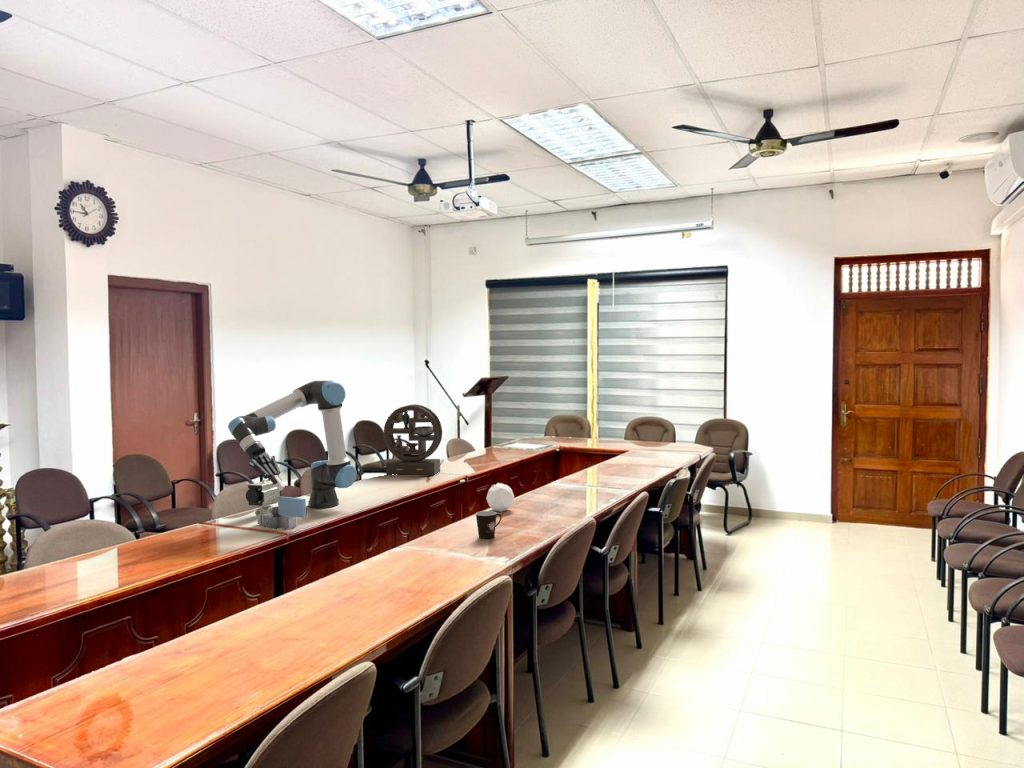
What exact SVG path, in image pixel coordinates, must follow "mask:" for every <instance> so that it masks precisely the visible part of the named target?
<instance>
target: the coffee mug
mask: <svg viewBox="0 0 1024 768" xmlns="http://www.w3.org/2000/svg"><path fill="white" fill-rule="evenodd" d="M497 516H499V521H498V522H497ZM475 519H476V525H477V533H478V539H480V540H491V539H494V538H495V534H496V528H497V526H499V524H500V523H501V521H502V515H501V514H500V513H497V512H496V511H495V510H481V511H477V512H476V513H475Z"/></svg>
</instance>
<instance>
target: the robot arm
mask: <svg viewBox="0 0 1024 768" xmlns="http://www.w3.org/2000/svg"><path fill="white" fill-rule="evenodd" d="M345 399H346V390H345V387H344V386H343V384H341V382H338V381H336V380H314V381H310V382H307V383H306V384H304V385H301V386H299V387H297V388H295V389H293V390H292V393H289V394H288V395H285V396H283V397H281V398H278V399H277V400H275V401H273V402H271V403H268V404H266V405H265V406H263V407H261V408H259V409H257V410H255V411H252V412H250V413H247V414H245V415H240V416H239V415H238V416H236V417H234V418H233V419H232V420H230V421H229V423H228V425H227V428H228V431H229V432H230V434H231V435H232V437H233V438H234V439H235V441H236V442H237V444H239V446H240V448H241V449H242V450H243V452H244V453H245V454H246V456H247V457H248V459H249V460H250V462H249V463H248V465H249V466H250V467H251V468H252V469H254V470H255V471H256V472H257V473H258V474H259V475H260V476H261V477H262V478H263V479H265V480H269V481H270V480H271V481H272V483H273V484H275V485H276V487H277V488H278V490H279V491H281V490H282V491H283V490H284V488H285V487H286V485H285V484H284V483H283V482H284V481H283V479H282V478H281V477H280V474H281V469H280V466H279V464H278V462H277V460H276V456H275V455H272V456H271V455H269V453H267V452H266V448H265V447H264V445H263V444H262V442H261V441H260V439H259V438H258V437H257V436H261V435H265V434H269V433H271V432H273V431H275V430H276V421H275V419H276V420H277V418H280V417H282V416H284V415H286V414H288V413H290V412H292V411H293V410H296V409H297V408H304V407H307V406H308V405H309V406H310V405H317V410H318V411H320V413H321V414H322V422H323V427H324V434H325V435H324V436H325V442H326V450H327V454H328V455H327V457H328V459H326V460H325V459H324V460H317V461H314V462H311V463H310V464H311V465H310V484H311V485H310V487H311V489H310V490H311V492H310V495H309V500H308V501H307V502H308V503H307V504H308V507H309V508H312V509H327V508H333V507H336V506H339V503H340V502H339V498H338V495H337V491H336V488H338V489H349V488H350V487H352V486H353V484H354V482H355V481H356V479H357V469H356V468H355V466H353V465H352V464H351V459H350V457H348V456H347V451H346V445H345V439H344V431H343V430H344V429H343V424H342V418H341V417H342V415H341V409H342V407H343V403H344V402H345ZM282 491H281V492H282Z"/></svg>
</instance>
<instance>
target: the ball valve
mask: <svg viewBox="0 0 1024 768" xmlns="http://www.w3.org/2000/svg"><path fill="white" fill-rule="evenodd" d="M282 491H283V490H281V491H279V490H278V488H277V487H276V485H275V484H273V483H272V481H271V480H270V481H269V480H268V479H264V478H263V479H262V480H261V481H258V482H255V483H252V484H251V483H250V484H248V485H247V491H246V492H245V499H246V501H247V503H248V506H259V507H258V508H257V509H256V510H255V512H254V514H255V516H256V517H257V515H258V514H261V513H265V512H270V513H271V514H272V507H274V505H272V503H275V502H278V497H280V496H282Z"/></svg>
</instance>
